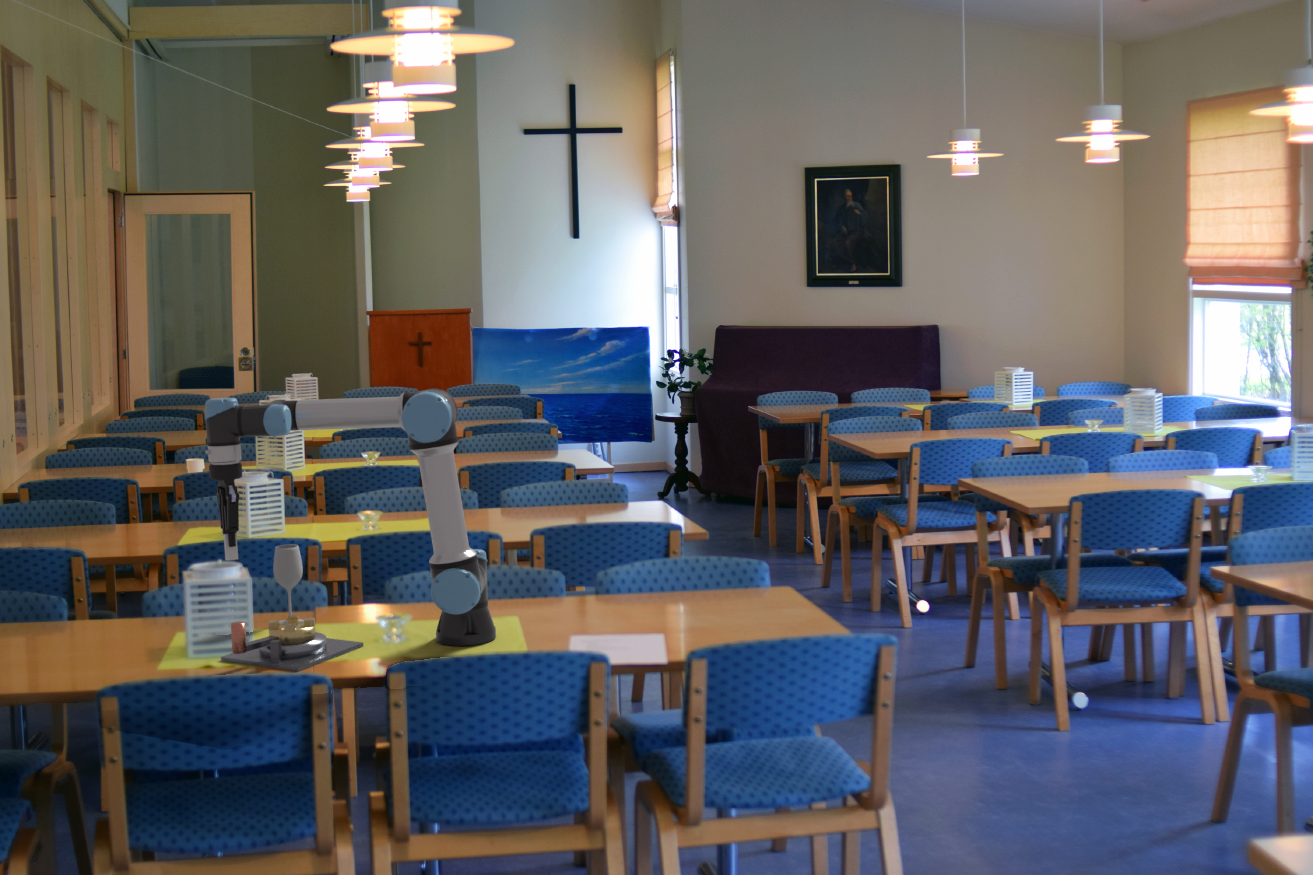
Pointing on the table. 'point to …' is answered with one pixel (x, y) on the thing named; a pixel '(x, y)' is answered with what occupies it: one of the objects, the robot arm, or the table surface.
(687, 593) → the table surface
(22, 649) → the table surface
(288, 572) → the wineglass
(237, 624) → the tan handled round piece
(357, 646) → the housing
